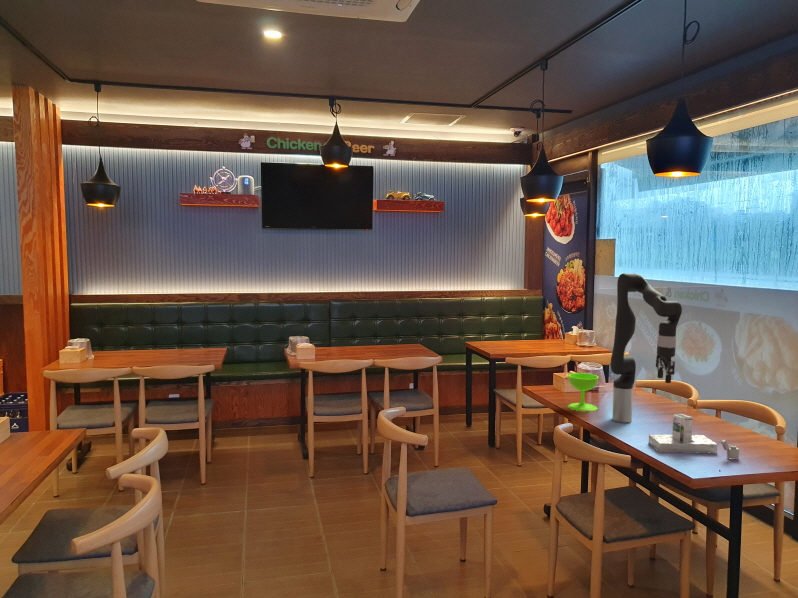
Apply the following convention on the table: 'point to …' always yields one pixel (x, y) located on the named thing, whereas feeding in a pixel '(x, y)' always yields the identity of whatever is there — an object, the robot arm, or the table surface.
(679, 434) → the syrup box
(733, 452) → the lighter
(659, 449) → the white flat block
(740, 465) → the table surface
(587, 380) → the wineglass
